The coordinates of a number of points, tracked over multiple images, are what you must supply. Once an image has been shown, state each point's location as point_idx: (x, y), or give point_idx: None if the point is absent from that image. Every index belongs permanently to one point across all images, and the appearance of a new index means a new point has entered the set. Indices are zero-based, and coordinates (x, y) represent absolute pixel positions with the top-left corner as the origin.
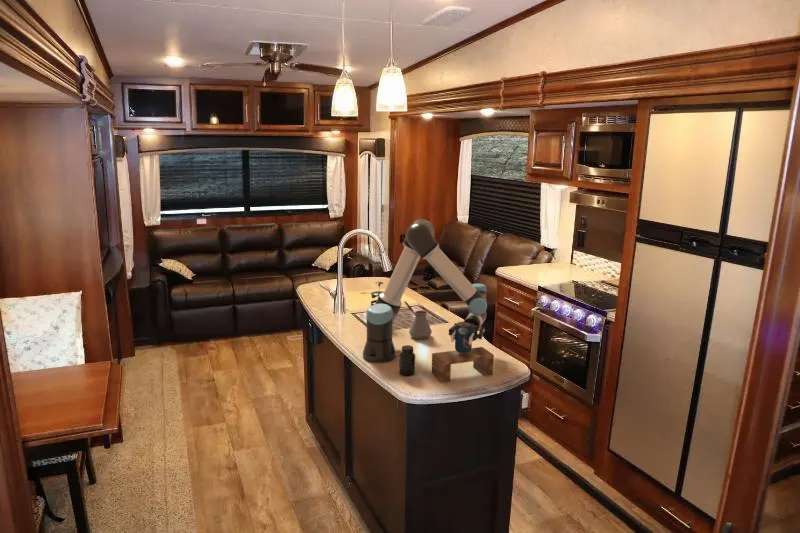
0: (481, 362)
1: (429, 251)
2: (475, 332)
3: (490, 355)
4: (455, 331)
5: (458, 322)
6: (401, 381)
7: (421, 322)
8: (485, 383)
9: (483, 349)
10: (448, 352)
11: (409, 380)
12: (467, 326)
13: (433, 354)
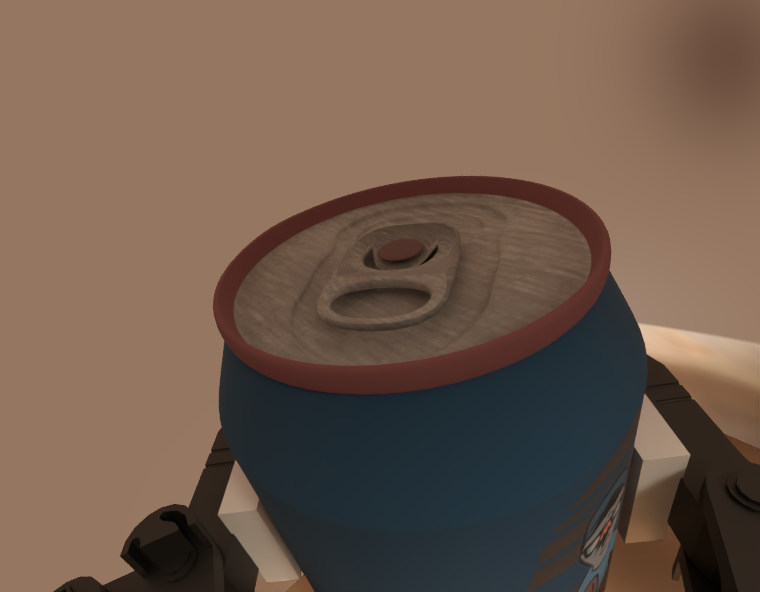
0: None
1: None
2: (181, 512)
3: None
4: (646, 429)
5: (603, 234)
6: (739, 372)
7: None
8: (270, 584)
9: None
10: (662, 582)
11: (718, 399)
12: (303, 223)
13: (737, 441)
